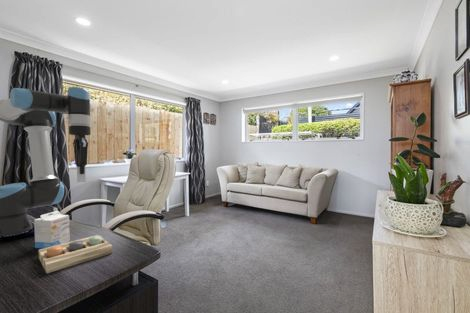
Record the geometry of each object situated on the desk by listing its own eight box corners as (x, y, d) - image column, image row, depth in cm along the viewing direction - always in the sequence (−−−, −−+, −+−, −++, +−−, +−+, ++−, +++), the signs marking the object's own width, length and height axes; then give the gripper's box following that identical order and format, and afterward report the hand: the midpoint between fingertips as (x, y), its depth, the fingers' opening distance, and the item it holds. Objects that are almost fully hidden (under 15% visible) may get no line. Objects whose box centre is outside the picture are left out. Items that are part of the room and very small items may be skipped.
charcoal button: (67, 251, 88) (67, 242, 88) (81, 247, 91) (81, 239, 91) (70, 254, 85) (70, 246, 85) (84, 251, 88) (84, 242, 88)
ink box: (51, 249, 93) (50, 216, 92) (34, 247, 95) (33, 215, 94) (70, 241, 101) (69, 210, 101) (54, 239, 103) (53, 209, 103)
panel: (38, 257, 86) (38, 249, 86) (98, 241, 101) (98, 234, 101) (46, 273, 75) (46, 264, 75) (112, 252, 90) (112, 245, 90)
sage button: (87, 245, 93) (87, 238, 92) (99, 242, 96) (99, 234, 96) (90, 249, 90) (90, 241, 90) (103, 245, 93) (103, 237, 93)
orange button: (45, 257, 83) (45, 248, 83) (61, 253, 86) (60, 244, 86) (48, 261, 80) (47, 252, 80) (63, 257, 83) (63, 248, 83)
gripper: (65, 126, 99) (67, 181, 100) (73, 123, 90) (75, 184, 91) (85, 127, 104) (87, 179, 105) (94, 125, 95) (96, 182, 96)
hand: (81, 181), depth 98 cm, fingers closed
